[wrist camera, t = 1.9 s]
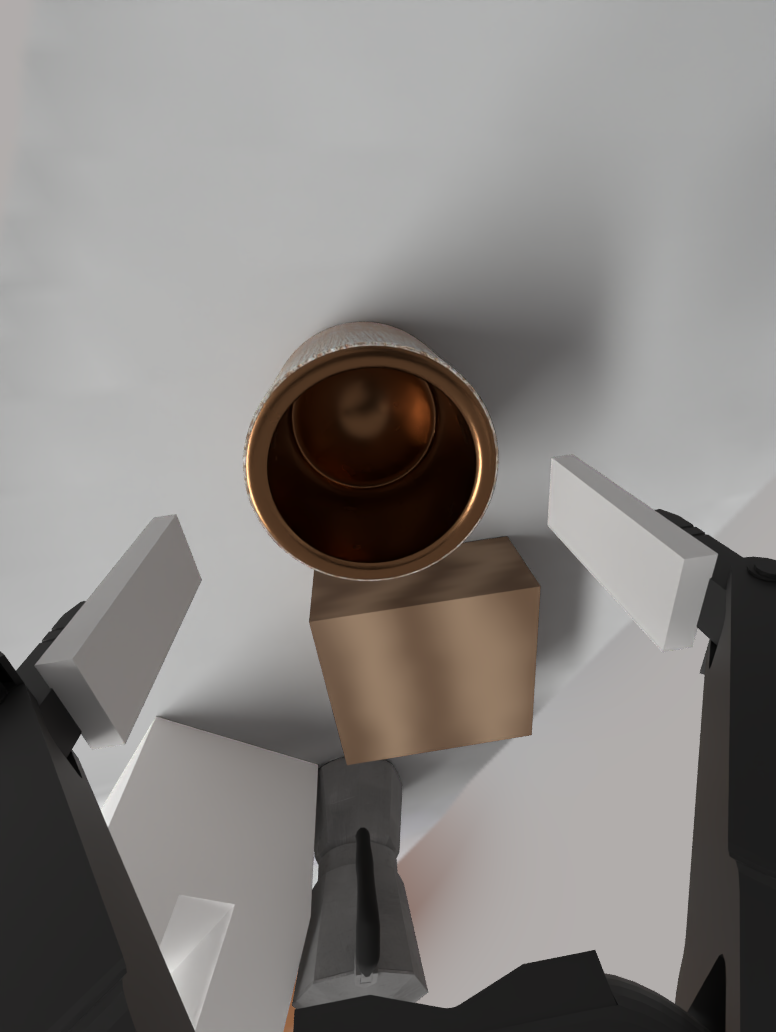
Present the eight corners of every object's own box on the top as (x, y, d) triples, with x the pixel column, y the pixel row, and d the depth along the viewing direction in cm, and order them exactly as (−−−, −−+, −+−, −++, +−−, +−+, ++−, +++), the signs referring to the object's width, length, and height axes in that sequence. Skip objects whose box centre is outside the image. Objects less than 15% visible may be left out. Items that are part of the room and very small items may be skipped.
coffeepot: (396, 818, 47) (423, 1088, 31) (307, 822, 46) (289, 1105, 30) (412, 721, 40) (457, 1007, 24) (307, 724, 39) (283, 1025, 23)
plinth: (507, 536, 32) (540, 586, 26) (505, 672, 38) (531, 735, 33) (314, 565, 31) (309, 621, 26) (346, 698, 38) (346, 765, 33)
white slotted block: (156, 715, 37) (-120, 1353, 15) (318, 763, 42) (291, 1296, 20) (86, 833, 43) (-177, 1395, 21) (233, 862, 48) (142, 1344, 26)
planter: (247, 342, 24) (196, 372, 16) (440, 301, 24) (493, 310, 16) (301, 512, 29) (285, 604, 21) (460, 479, 29) (508, 558, 21)
